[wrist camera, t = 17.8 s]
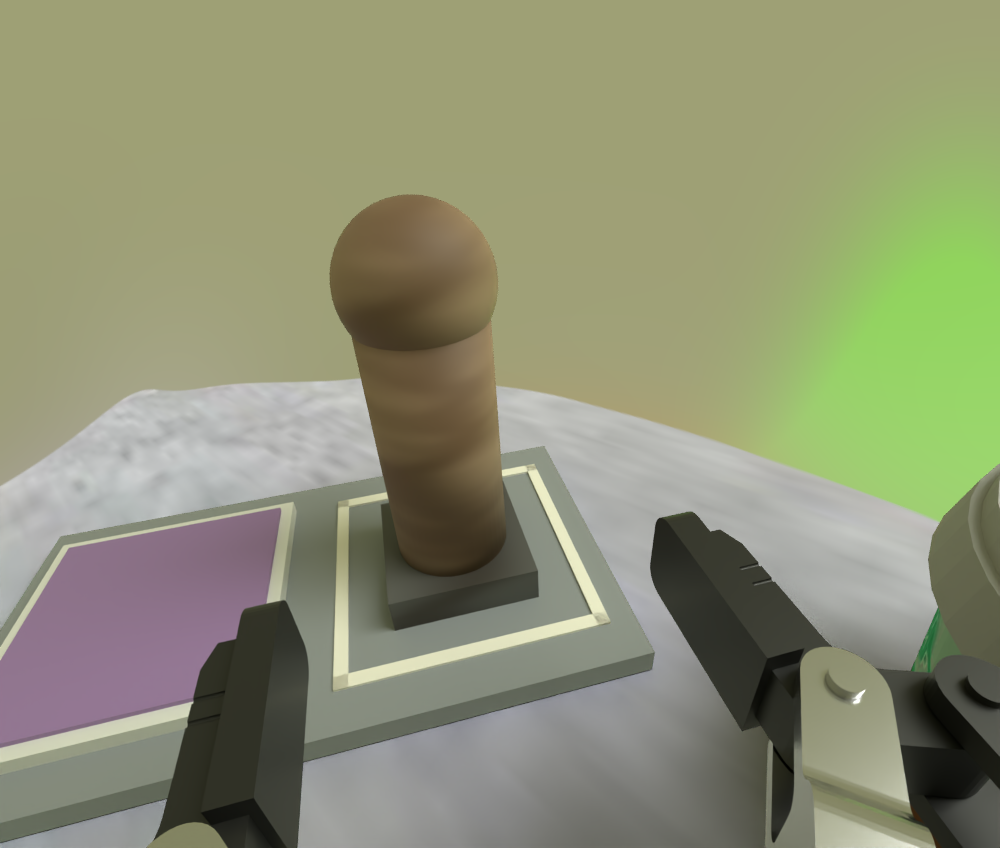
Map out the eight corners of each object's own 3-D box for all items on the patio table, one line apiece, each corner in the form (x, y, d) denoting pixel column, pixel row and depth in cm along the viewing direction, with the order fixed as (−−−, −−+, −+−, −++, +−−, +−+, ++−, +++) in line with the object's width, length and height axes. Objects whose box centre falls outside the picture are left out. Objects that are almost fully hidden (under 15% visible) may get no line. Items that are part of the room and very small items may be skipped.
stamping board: (-124, 875, 15) (-170, 849, 14) (70, 551, 26) (51, 524, 25) (651, 669, 19) (657, 638, 18) (544, 460, 30) (543, 433, 29)
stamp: (395, 630, 20) (290, 230, 12) (386, 529, 25) (305, 190, 17) (538, 597, 21) (527, 203, 13) (504, 504, 26) (480, 172, 18)
